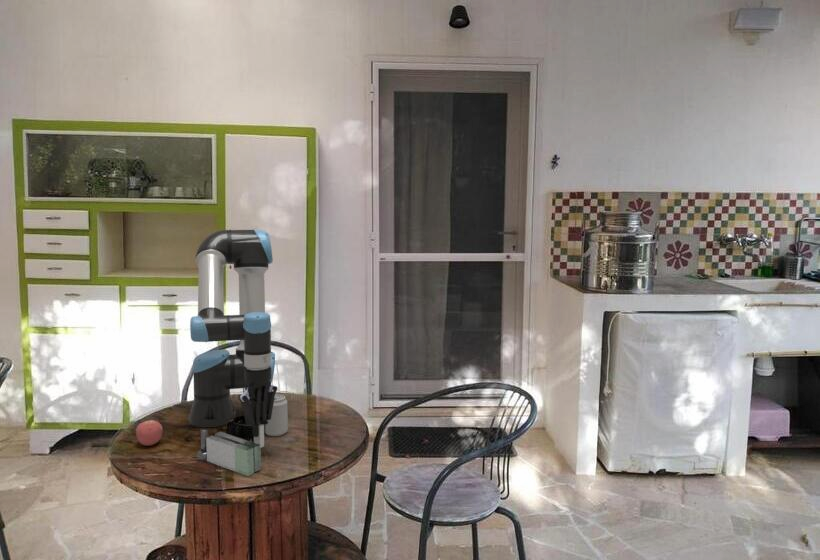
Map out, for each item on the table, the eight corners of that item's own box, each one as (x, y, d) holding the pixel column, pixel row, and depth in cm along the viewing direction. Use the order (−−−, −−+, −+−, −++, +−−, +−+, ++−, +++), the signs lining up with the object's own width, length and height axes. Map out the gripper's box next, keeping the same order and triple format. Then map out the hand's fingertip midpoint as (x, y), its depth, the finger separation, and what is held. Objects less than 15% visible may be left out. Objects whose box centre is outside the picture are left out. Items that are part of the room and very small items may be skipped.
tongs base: (194, 458, 177) (193, 430, 176) (206, 454, 180) (205, 426, 179) (244, 477, 165) (244, 447, 164) (256, 472, 169) (255, 442, 168)
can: (262, 430, 200) (261, 394, 198) (285, 427, 203) (284, 392, 201) (266, 438, 193) (265, 401, 192) (290, 435, 196) (289, 398, 195)
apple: (150, 438, 192) (149, 413, 191) (168, 442, 189) (167, 417, 188) (130, 446, 185) (129, 420, 185) (148, 451, 182) (147, 424, 181)
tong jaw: (215, 456, 178) (214, 433, 177) (221, 454, 180) (220, 431, 179) (254, 472, 168) (254, 447, 167) (260, 469, 170) (260, 445, 169)
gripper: (248, 374, 169) (250, 456, 171) (283, 364, 179) (284, 442, 182) (230, 369, 173) (232, 450, 176) (266, 360, 183) (267, 436, 186)
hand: (259, 445), depth 179 cm, fingers closed
